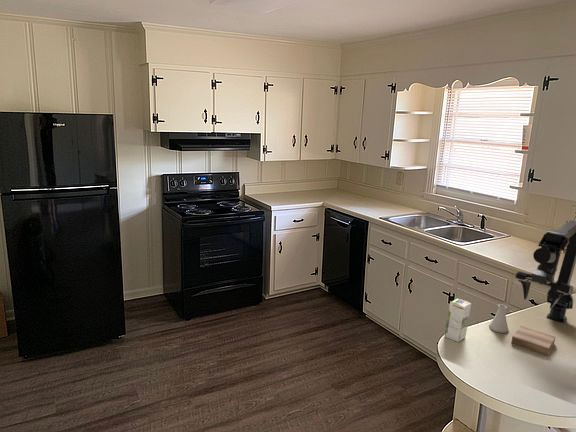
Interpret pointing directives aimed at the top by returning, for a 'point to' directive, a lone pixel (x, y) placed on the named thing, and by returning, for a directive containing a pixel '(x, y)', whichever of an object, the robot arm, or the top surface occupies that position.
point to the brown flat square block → (533, 340)
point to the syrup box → (457, 320)
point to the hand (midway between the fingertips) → (537, 303)
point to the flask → (500, 320)
